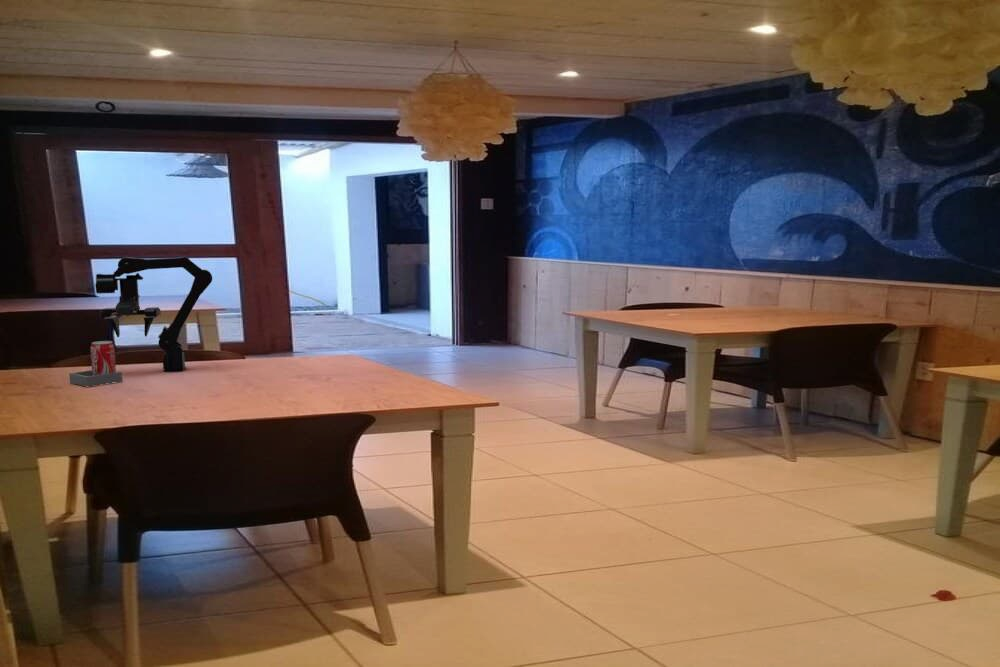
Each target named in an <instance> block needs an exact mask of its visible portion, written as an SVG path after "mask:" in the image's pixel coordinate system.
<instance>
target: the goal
mask: <svg viewBox="0 0 1000 667" xmlns="http://www.w3.org/2000/svg"><path fill="white" fill-rule="evenodd" d="M119 381H123V371H116V372H114V373H108V374H101V375H94V376H92V369H91V370H83V371H77V372H76V371H75V372H69V384H71V383H73V384H72V385H75V384H78V385H77V386H79V385H83V386H93V385H100V384H106V383H112V382H118V383H120V382H119ZM112 384H113V383H112ZM106 385H107V384H106ZM83 386H82V387H83ZM100 386H101V385H100ZM93 387H94V386H93Z"/></svg>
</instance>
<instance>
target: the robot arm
mask: <svg viewBox="0 0 1000 667" xmlns="http://www.w3.org/2000/svg"><path fill="white" fill-rule="evenodd" d="M176 268H178V269H179V268H183V269H184V270H185V271H186V272H187V273H189V274H190V275H191V276H192V277H194V279H193V282H192V283H191V284H192V285H191V287H190V290H189V292H188V293H187V295H186V298H185V299H184V301H183V303H182V305H181V306H180V308H179V310H178V312H177V314H176V315H175V317H174V319H173V320H172V322H171V323H170V325H168V327H167V326H166V325H164V326H163V329H162V331H161V332H160V333H159V335H158V336H157V338H158V339H159V340H158V346H159V348H160V349H161V350H163V351H164V354H163V357H162V369H163V372H183V371H184V370H186V369H187V366H186V361H185V359H186V358H185V352H184V351H183V348H184V347H183V345H182V343H180V342H179V341H178V339H179V336H180V333H181V329H182V328H183V326H184V324H185V322H186V321H187V319H188V317H189V315H190V313H191V312H192V310H193V308H194V307H195V305H196V303H197V301H198V300H199V298H200V296H201V295H203V293H204V292H205V291H206V290H207V288H208V287H209V286H210V285H211V283H212V282H213V275H212V273H211V272H210V271H209V270H207V269H202V268H201V267H199V265H197V264H196V263H194V262H193V261H192V260H190V258H189V257H188V256H180V257H161V258H141V257H132V256H125V257H122V258H121V259H120V260H119V261H118V263H117V269H116V270H115V271H113V273H111V274H105V273H104V274H103V273H97V274H96V275H95V286H94V287H95V293H96V294H99V295H100V294H115V293H116V291H119V294H120V296H119V300H118V302H117V303H116V305H115V307H110V308H109V307H106V308H102V309H101V310H100V312H99V317H100V318H103V319H104V321H107V322H109V323H110V325H111V326H112V328H113V331H114V333H115V335H116V337H117V338H120V333H121V330H120V321H119V317H121V316H126V317H127V316H141V315H142V316H144V317H143V320H144V331H143V332H144V337H148V334H149V331H150V328H151V325H152V323H153V321H154V319H156V318H158V317H159V316H161V315H162V313H161V308H159V306H157V307H155V306H154V307H146V308H144V309H141V306H140V300H139V298H140V294H139V285H138V284H139V282H138V281H141V280H142V281H143V280H144V277H143V276H142V275H140V273H139V272H142V271H145V270H147V271H148V270H160V269H176ZM133 273H136V274H133ZM124 274H126V276H125V277H123V278H122V276H123V275H124Z"/></svg>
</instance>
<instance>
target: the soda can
mask: <svg viewBox="0 0 1000 667" xmlns="http://www.w3.org/2000/svg"><path fill="white" fill-rule="evenodd" d="M115 352H116V350H115V346H114V344H113V341H112V340H100V341H93V342H91V345H90V362H91V370H92V376H94V375H101V374H108V373H114V372H117V370H116V353H115Z"/></svg>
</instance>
